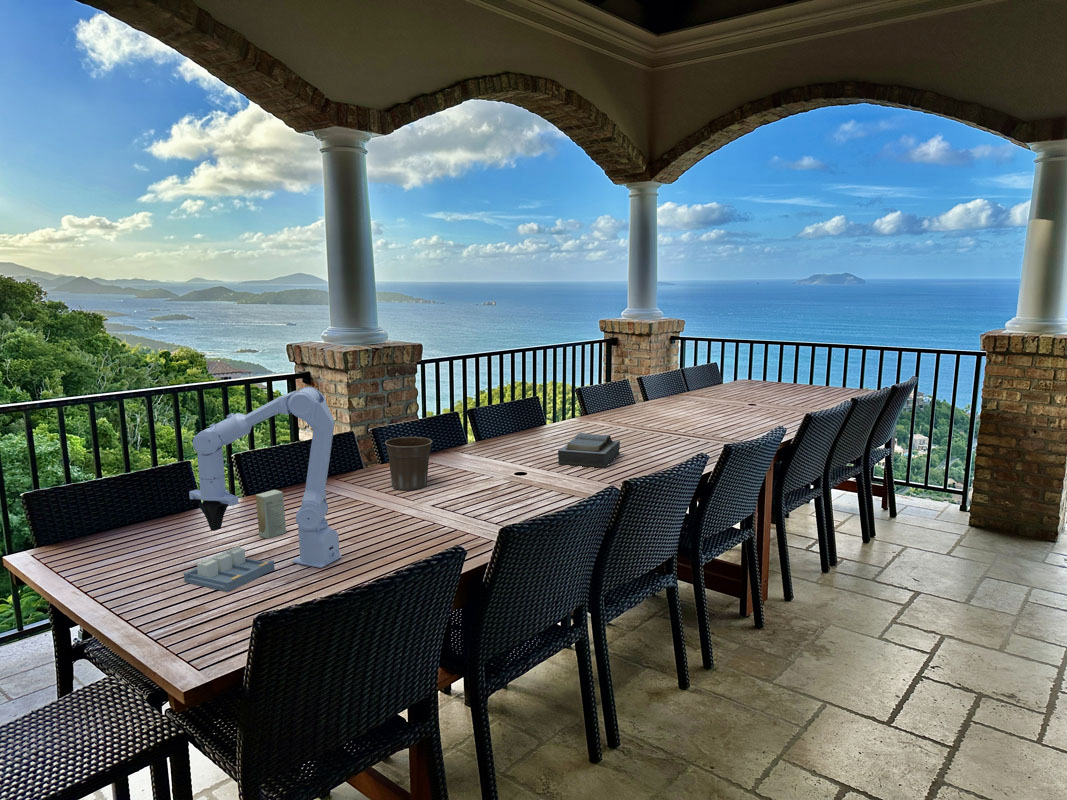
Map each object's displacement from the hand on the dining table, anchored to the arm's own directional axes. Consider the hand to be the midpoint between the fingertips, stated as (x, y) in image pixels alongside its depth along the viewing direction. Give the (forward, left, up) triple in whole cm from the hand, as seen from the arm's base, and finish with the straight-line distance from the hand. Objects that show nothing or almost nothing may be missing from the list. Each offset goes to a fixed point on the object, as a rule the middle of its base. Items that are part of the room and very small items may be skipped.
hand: (216, 529), depth 175 cm
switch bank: (-9, +4, -9) cm, 13 cm away
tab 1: (-6, +8, -8) cm, 13 cm away
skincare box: (+3, -22, -9) cm, 24 cm away
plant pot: (-5, -79, -9) cm, 79 cm away
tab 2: (-6, +4, -8) cm, 11 cm away
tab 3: (-6, 0, -8) cm, 10 cm away
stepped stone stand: (-50, -140, -10) cm, 148 cm away
